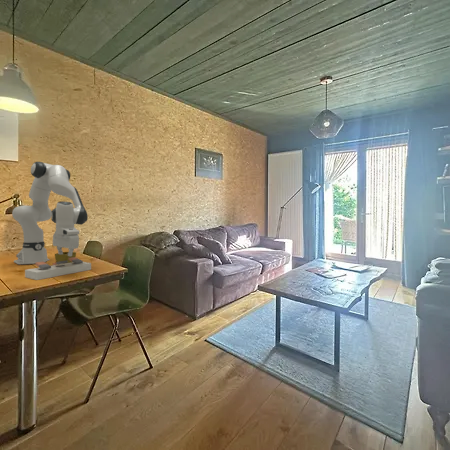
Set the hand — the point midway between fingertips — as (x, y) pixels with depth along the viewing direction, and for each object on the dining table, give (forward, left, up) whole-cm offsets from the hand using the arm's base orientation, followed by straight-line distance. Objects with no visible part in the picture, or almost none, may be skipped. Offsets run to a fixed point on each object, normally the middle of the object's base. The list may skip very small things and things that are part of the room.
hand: (65, 255), depth 147 cm
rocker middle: (-6, +1, -5) cm, 8 cm away
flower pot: (-22, +13, -11) cm, 28 cm away
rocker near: (-6, -8, -5) cm, 12 cm away
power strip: (-6, +1, -11) cm, 13 cm away
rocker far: (-6, +10, -5) cm, 12 cm away
